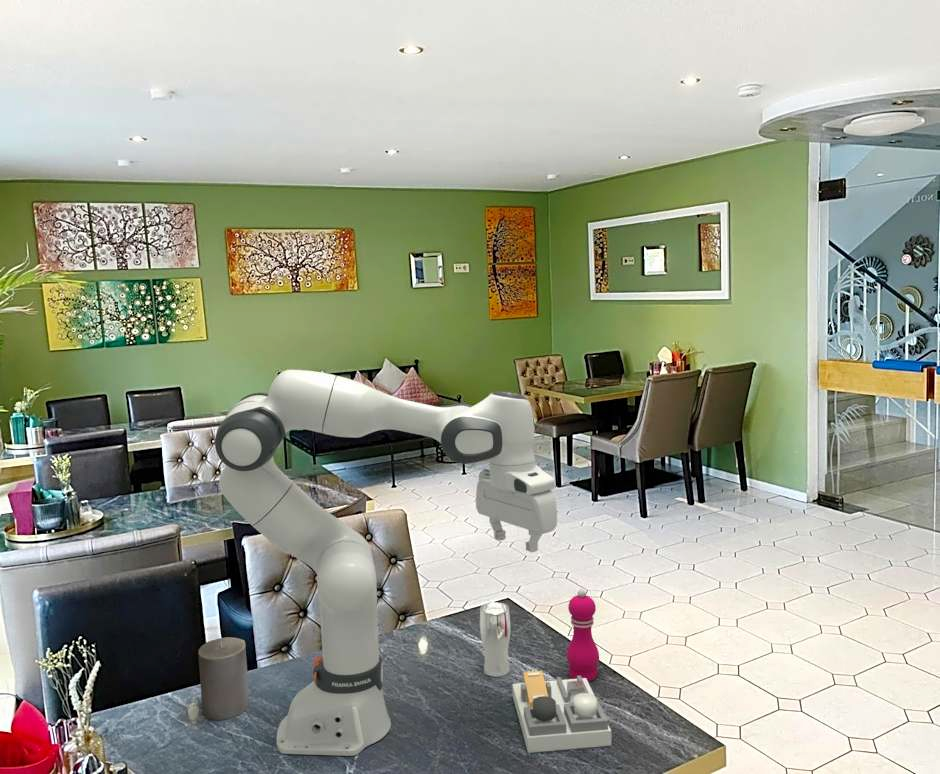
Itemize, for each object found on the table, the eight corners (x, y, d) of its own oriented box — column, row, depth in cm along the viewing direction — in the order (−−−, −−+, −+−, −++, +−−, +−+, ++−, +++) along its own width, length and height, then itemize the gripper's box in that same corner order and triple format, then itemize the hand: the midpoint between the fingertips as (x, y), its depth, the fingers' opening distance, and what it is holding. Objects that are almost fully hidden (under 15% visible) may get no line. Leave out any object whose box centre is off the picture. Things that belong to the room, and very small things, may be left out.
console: (528, 752, 143) (527, 723, 142) (512, 697, 163) (512, 671, 162) (611, 745, 145) (611, 716, 144) (586, 691, 164) (585, 665, 164)
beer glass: (517, 667, 176) (515, 605, 174) (502, 680, 170) (500, 616, 168) (491, 660, 179) (489, 599, 178) (475, 673, 174) (473, 610, 172)
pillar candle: (194, 709, 163) (188, 643, 161) (235, 690, 170) (230, 627, 168) (217, 726, 156) (211, 657, 154) (259, 706, 163) (254, 640, 161)
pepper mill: (598, 684, 167) (597, 596, 165) (565, 681, 169) (563, 595, 166) (600, 667, 174) (598, 584, 172) (568, 665, 176) (566, 582, 173)
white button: (576, 718, 145) (576, 706, 145) (571, 705, 150) (571, 693, 149) (599, 716, 146) (599, 704, 145) (593, 704, 150) (593, 692, 150)
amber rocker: (529, 706, 153) (529, 701, 152) (523, 676, 160) (523, 670, 159) (549, 705, 153) (549, 699, 152) (542, 674, 160) (542, 669, 160)
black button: (535, 721, 144) (534, 709, 144) (531, 709, 149) (531, 697, 149) (558, 719, 145) (557, 707, 145) (553, 707, 149) (553, 695, 149)
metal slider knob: (570, 703, 154) (570, 689, 154) (567, 695, 157) (567, 681, 157) (585, 701, 154) (584, 687, 154) (581, 694, 157) (581, 680, 157)
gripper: (466, 469, 152) (470, 536, 154) (536, 487, 136) (538, 562, 138) (491, 464, 156) (494, 529, 158) (561, 481, 140) (563, 553, 142)
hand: (515, 545), depth 148 cm, fingers open, 8 cm apart
